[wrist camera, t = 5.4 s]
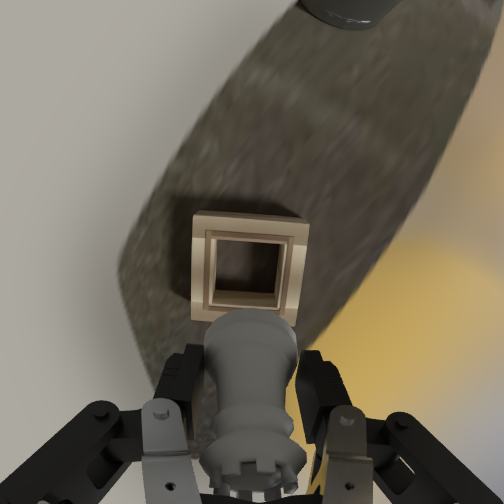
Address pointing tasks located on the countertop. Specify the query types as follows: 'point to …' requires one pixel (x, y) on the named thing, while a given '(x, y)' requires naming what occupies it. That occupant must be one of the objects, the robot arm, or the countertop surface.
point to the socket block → (253, 230)
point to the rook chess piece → (251, 405)
